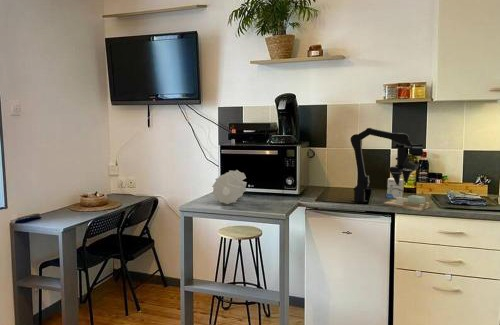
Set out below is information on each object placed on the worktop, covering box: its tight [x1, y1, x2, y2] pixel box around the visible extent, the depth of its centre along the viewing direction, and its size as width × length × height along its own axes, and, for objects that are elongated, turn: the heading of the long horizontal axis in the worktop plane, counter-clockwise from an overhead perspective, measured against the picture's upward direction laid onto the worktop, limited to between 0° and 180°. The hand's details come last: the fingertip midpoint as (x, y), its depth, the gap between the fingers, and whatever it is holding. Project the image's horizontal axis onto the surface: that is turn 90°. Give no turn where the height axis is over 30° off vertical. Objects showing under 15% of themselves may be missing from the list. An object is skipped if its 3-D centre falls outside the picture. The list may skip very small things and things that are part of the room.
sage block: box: [395, 194, 426, 204], centre depth 214 cm, size 5×15×5 cm, turn 40°
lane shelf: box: [382, 199, 431, 212], centre depth 215 cm, size 12×21×3 cm, turn 40°
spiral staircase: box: [212, 169, 248, 205], centre depth 232 cm, size 18×18×25 cm
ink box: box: [386, 177, 404, 200], centre depth 236 cm, size 9×5×12 cm, turn 62°
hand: (401, 183), depth 217 cm, fingers open, 9 cm apart
